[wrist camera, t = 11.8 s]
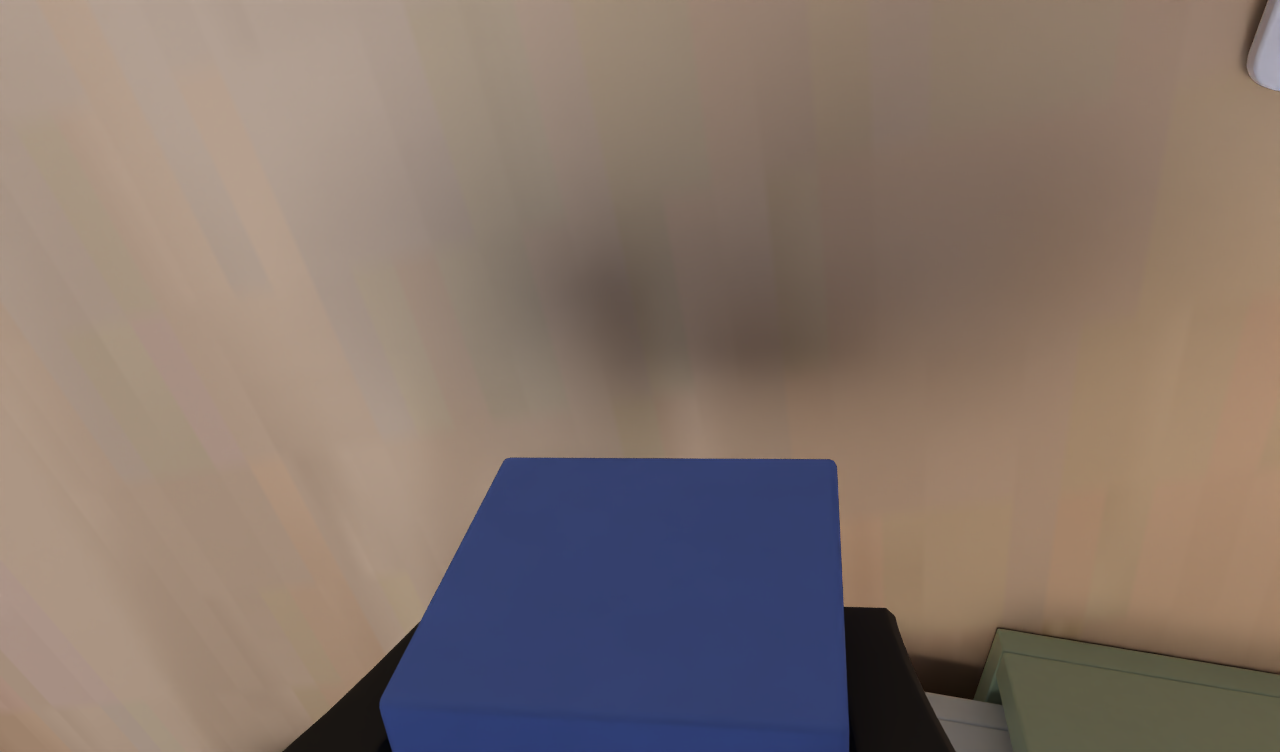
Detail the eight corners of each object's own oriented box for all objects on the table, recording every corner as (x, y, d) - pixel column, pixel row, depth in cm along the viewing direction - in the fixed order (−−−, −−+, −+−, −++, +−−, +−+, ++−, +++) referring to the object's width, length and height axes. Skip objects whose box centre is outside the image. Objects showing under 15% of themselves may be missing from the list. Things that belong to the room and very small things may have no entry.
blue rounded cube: (503, 454, 13) (373, 704, 9) (836, 455, 12) (848, 728, 8) (548, 694, 15) (456, 983, 11) (836, 710, 14) (846, 1025, 10)
